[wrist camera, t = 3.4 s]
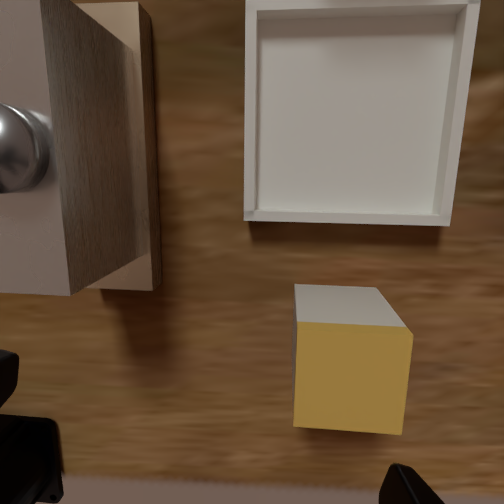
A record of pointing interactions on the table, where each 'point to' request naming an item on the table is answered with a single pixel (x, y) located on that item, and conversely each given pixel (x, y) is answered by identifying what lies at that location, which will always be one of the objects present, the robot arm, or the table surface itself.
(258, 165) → the tray
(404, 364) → the amber cartridge
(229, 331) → the table surface
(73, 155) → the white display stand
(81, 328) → the table surface
